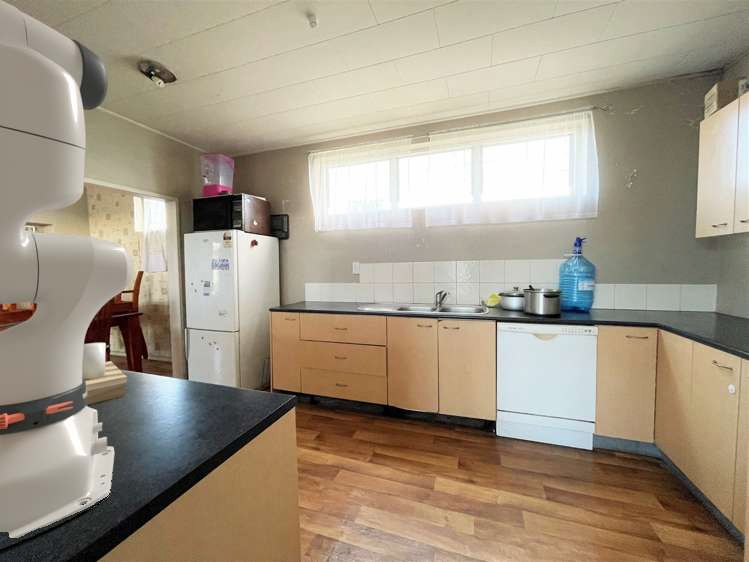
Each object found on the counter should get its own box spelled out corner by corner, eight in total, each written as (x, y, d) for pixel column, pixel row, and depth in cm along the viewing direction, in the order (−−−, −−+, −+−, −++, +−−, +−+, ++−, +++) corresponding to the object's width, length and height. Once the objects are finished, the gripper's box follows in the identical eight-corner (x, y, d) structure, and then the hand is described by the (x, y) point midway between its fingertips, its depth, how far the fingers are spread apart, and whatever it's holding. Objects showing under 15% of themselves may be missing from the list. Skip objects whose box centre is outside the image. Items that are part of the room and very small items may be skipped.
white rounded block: (109, 375, 82) (110, 343, 82) (86, 380, 77) (87, 347, 77) (97, 372, 84) (98, 342, 84) (74, 378, 79) (75, 345, 79)
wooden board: (127, 395, 81) (127, 376, 81) (50, 413, 70) (50, 392, 70) (111, 376, 95) (110, 361, 95) (45, 390, 84) (44, 372, 84)
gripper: (-37, 218, 60) (34, 268, 65) (17, 231, 78) (70, 269, 83) (-72, 240, 58) (5, 289, 63) (-8, 247, 76) (48, 285, 81)
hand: (42, 278), depth 73 cm, fingers open, 8 cm apart
